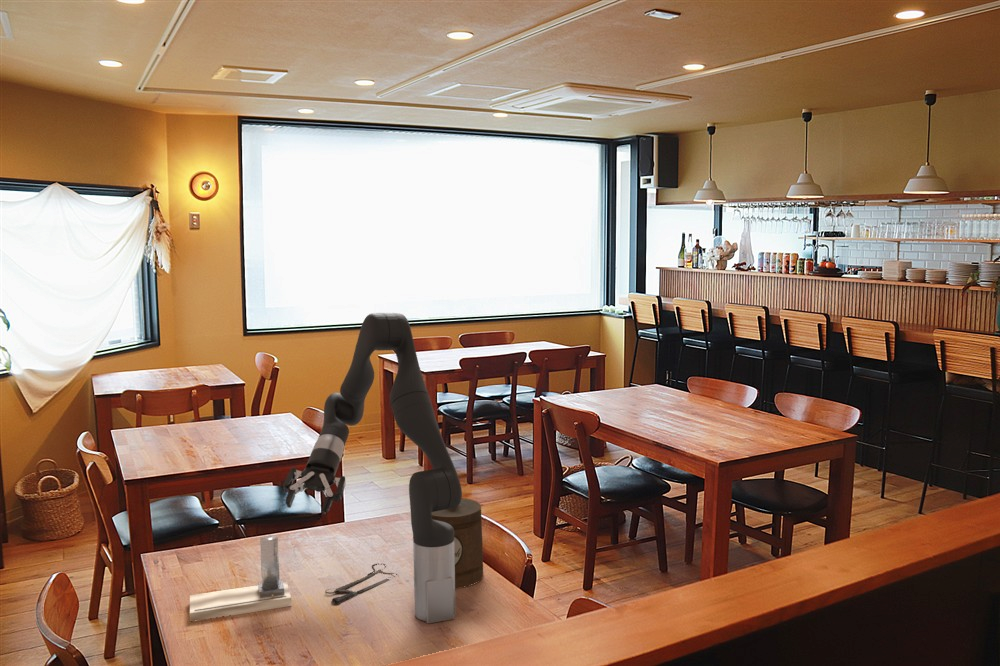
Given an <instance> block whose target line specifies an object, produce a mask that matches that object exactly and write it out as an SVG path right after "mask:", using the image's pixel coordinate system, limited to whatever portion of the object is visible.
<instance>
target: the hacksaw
mask: <svg viewBox="0 0 1000 666" xmlns="http://www.w3.org/2000/svg"><path fill="white" fill-rule="evenodd" d="M377 564H378V563H374V564H372V565H371V569H372V572H370V573H368V574H367V575H366V576H365V577H364V576H363V577H362V578H360V579H356V580H354V581H353V582H352V581H351V582H350V583H348V584H345V585H342V586H340V587H338V588H335V590H334V591H331V592H327V591H329V590H330V588H327V589H326V590H325V591H324V592H325V594H329V595H331V594H337V593H338V594H339V593H342V594H343V593H345V594H344V595H341V596H336V597H333V598H332V599H331V601H330V603H331V604H334V605H339V604H341V603H343V602H344V600H345V601H347V600H349V599H351V598H353V597H355V595H356V596H358V594H360V593H363V592H366V591H367V590H371V589H372V588H374V587H376V586H379V585H382V584H383V583H385V582H388V581H390V580H389V579H387V578H385V579H382V580H381V581H378V582H376V583H373V584H371V585H368V586H365V587H364V588H361V589H359V590H357V591H352V590H349V588H352V587H353V586H355V585H357V584H360V583H362V582H364V581H366V580H368V579H370V578H372V577H374V576H375V574H376V575H377V574H382V573H383V574H382V575H390V574H396V575H398V573H393V572H385V571H383V570H382V571H381V569H378V570H376V569H375V568H374V567H375V566H377ZM382 564H383V566H384V568H387V565H386V564H385V563H382ZM385 565H386V566H385ZM373 572H374V573H373ZM350 597H351V598H350ZM342 601H343V602H342Z"/></svg>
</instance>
